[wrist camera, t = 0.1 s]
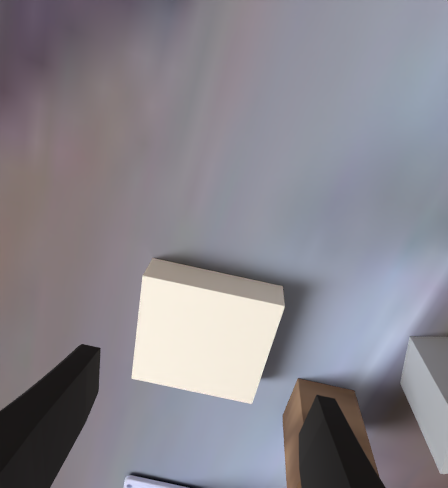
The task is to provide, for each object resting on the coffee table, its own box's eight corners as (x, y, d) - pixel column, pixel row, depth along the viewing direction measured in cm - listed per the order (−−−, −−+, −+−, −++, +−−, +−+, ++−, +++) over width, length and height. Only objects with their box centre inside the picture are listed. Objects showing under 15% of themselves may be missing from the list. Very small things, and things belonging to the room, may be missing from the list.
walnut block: (334, 427, 26) (353, 518, 21) (282, 415, 26) (287, 504, 21) (354, 390, 25) (380, 479, 19) (297, 378, 25) (308, 464, 19)
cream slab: (252, 374, 25) (251, 404, 23) (142, 351, 25) (131, 378, 23) (282, 282, 22) (284, 306, 20) (154, 254, 22) (142, 275, 20)
